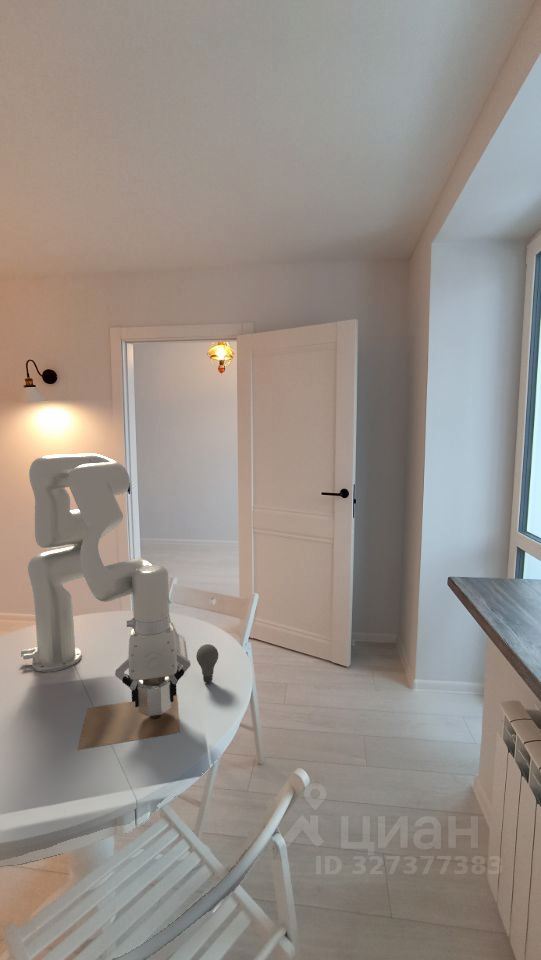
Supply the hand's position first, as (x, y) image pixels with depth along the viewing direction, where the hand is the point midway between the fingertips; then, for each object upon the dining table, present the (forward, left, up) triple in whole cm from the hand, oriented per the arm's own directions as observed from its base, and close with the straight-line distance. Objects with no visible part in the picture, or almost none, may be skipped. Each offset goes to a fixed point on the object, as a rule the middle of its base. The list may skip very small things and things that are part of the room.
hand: (154, 700), depth 99 cm
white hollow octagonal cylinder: (0, 0, -1) cm, 1 cm away
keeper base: (-5, 0, -5) cm, 7 cm away
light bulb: (+13, +13, -5) cm, 19 cm away
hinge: (+5, +28, -6) cm, 29 cm away
